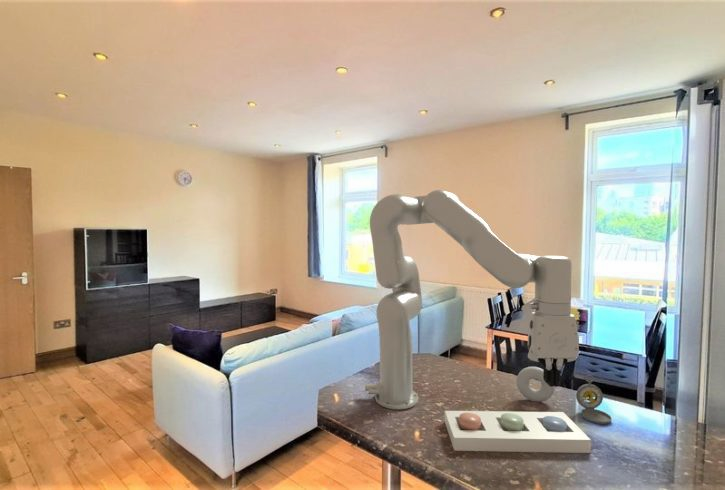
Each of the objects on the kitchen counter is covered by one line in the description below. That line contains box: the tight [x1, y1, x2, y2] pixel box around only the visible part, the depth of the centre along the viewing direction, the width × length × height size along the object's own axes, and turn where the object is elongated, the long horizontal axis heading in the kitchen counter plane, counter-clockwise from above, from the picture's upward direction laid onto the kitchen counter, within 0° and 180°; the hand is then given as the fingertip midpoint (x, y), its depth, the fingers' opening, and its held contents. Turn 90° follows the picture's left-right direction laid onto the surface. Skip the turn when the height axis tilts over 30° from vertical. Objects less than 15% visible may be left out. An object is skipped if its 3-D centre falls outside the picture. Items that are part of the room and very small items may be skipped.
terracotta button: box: [459, 413, 481, 431], centre depth 87 cm, size 5×5×2 cm
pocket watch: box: [575, 374, 613, 425], centre depth 95 cm, size 8×8×10 cm
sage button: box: [501, 413, 523, 431], centre depth 86 cm, size 5×5×2 cm
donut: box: [516, 366, 556, 403], centre depth 103 cm, size 10×4×10 cm, turn 64°
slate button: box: [543, 416, 567, 432], centre depth 86 cm, size 5×5×2 cm
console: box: [444, 410, 592, 454], centre depth 86 cm, size 30×12×3 cm, turn 87°
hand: (551, 384), depth 85 cm, fingers closed
